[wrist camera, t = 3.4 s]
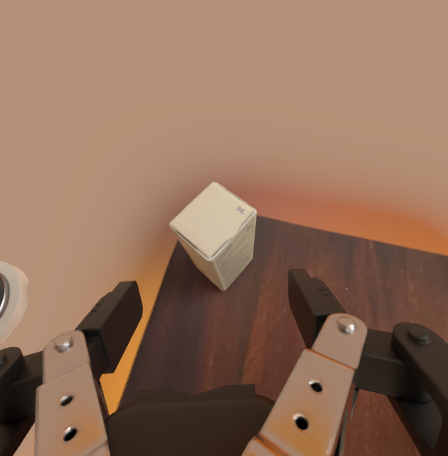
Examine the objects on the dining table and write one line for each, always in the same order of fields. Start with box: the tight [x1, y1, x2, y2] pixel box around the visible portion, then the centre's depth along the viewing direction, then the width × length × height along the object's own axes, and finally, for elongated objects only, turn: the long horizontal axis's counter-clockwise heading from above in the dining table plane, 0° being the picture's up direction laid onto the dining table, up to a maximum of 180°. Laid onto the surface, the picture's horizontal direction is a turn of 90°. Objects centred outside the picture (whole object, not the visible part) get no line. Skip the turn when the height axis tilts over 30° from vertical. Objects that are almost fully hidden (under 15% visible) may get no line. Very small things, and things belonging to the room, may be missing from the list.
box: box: [169, 182, 257, 291], centre depth 22 cm, size 5×4×11 cm
